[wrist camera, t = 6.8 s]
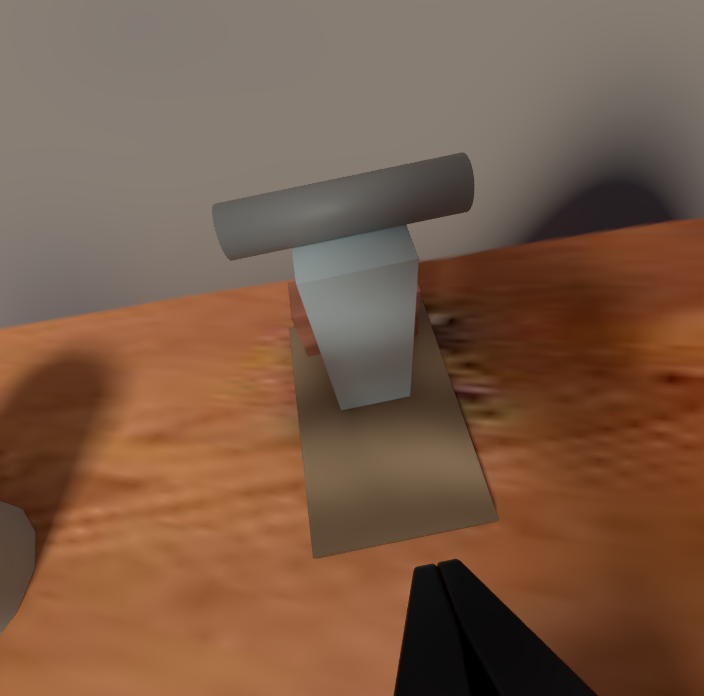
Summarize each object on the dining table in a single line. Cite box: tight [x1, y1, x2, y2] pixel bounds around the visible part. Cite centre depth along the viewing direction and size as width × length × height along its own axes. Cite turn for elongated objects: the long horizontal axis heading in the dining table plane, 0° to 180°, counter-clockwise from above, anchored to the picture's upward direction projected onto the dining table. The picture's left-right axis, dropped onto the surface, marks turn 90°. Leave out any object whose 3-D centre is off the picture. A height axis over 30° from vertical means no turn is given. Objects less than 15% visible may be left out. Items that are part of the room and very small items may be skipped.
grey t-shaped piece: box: [212, 153, 474, 410], centre depth 17 cm, size 4×8×13 cm, turn 100°
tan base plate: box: [288, 282, 499, 558], centre depth 20 cm, size 14×9×5 cm, turn 10°
